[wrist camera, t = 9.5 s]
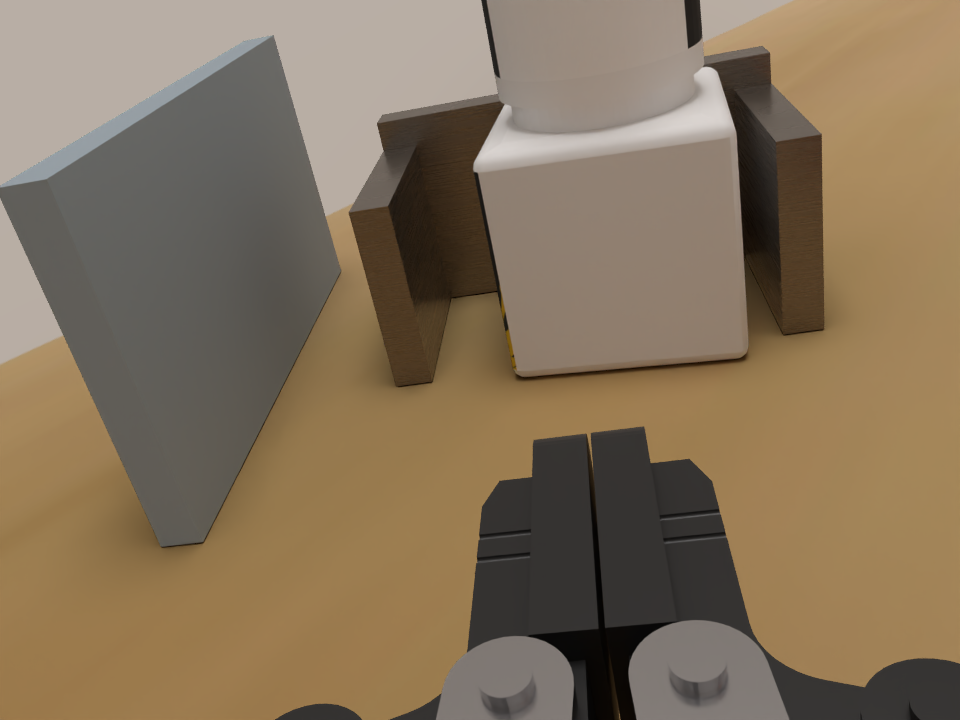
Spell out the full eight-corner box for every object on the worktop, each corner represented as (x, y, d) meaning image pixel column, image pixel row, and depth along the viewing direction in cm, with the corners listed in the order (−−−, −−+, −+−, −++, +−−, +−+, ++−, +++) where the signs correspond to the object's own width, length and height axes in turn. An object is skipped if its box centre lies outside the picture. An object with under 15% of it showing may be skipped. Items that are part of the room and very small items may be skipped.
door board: (161, 546, 24) (-5, 188, 19) (315, 275, 40) (244, 41, 35) (203, 541, 24) (46, 179, 19) (340, 270, 40) (273, 35, 35)
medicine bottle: (536, 285, 34) (475, -56, 29) (730, 264, 33) (707, -103, 27) (513, 382, 28) (430, -27, 23) (750, 362, 26) (724, -85, 21)
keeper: (396, 386, 29) (339, 180, 26) (424, 289, 36) (382, 115, 33) (824, 328, 27) (821, 97, 24) (770, 237, 34) (762, 46, 31)
